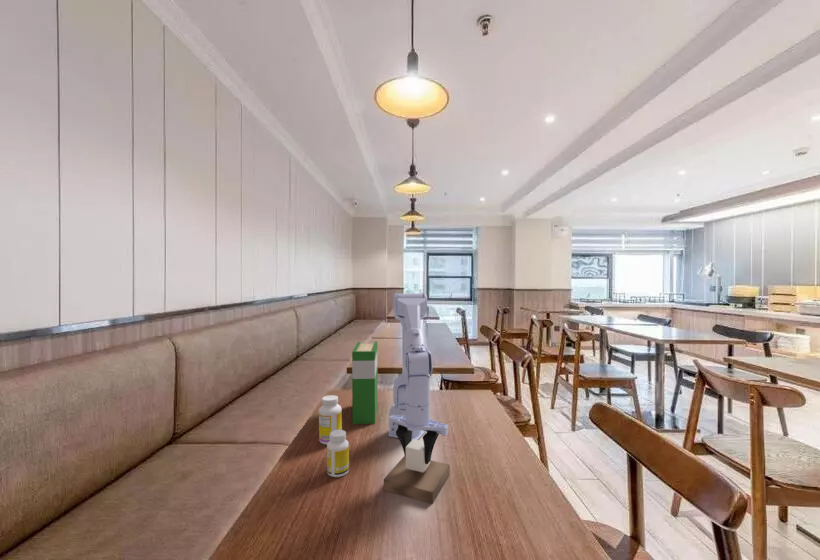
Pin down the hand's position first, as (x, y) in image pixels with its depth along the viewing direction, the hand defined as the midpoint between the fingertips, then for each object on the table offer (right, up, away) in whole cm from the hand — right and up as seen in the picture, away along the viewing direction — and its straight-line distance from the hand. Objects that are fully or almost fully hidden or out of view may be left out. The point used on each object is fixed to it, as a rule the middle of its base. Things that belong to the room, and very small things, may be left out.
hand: (417, 459), depth 84 cm
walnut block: (0, -5, 0) cm, 5 cm away
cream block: (0, -2, 0) cm, 2 cm away
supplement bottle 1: (-26, -5, +21) cm, 34 cm away
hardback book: (-18, -5, +42) cm, 46 cm away
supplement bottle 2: (-20, -6, +5) cm, 21 cm away
